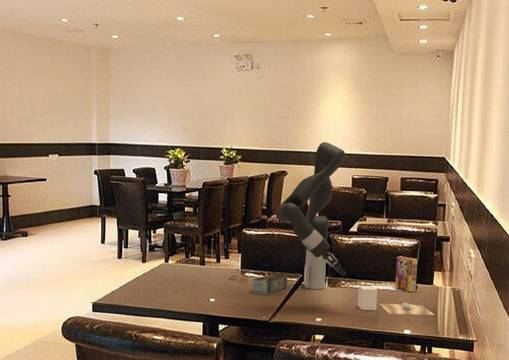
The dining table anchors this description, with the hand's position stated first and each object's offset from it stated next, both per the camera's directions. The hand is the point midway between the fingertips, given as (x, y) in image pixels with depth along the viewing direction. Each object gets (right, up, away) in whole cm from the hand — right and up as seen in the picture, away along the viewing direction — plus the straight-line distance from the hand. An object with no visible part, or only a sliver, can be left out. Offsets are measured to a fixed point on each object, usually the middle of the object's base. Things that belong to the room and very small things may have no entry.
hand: (342, 272), depth 233 cm
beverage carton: (-28, -13, +29) cm, 42 cm away
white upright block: (+10, -15, +1) cm, 18 cm away
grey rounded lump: (+26, -15, +2) cm, 30 cm away
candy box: (+36, -15, +41) cm, 56 cm away
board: (+26, -16, +2) cm, 31 cm away
